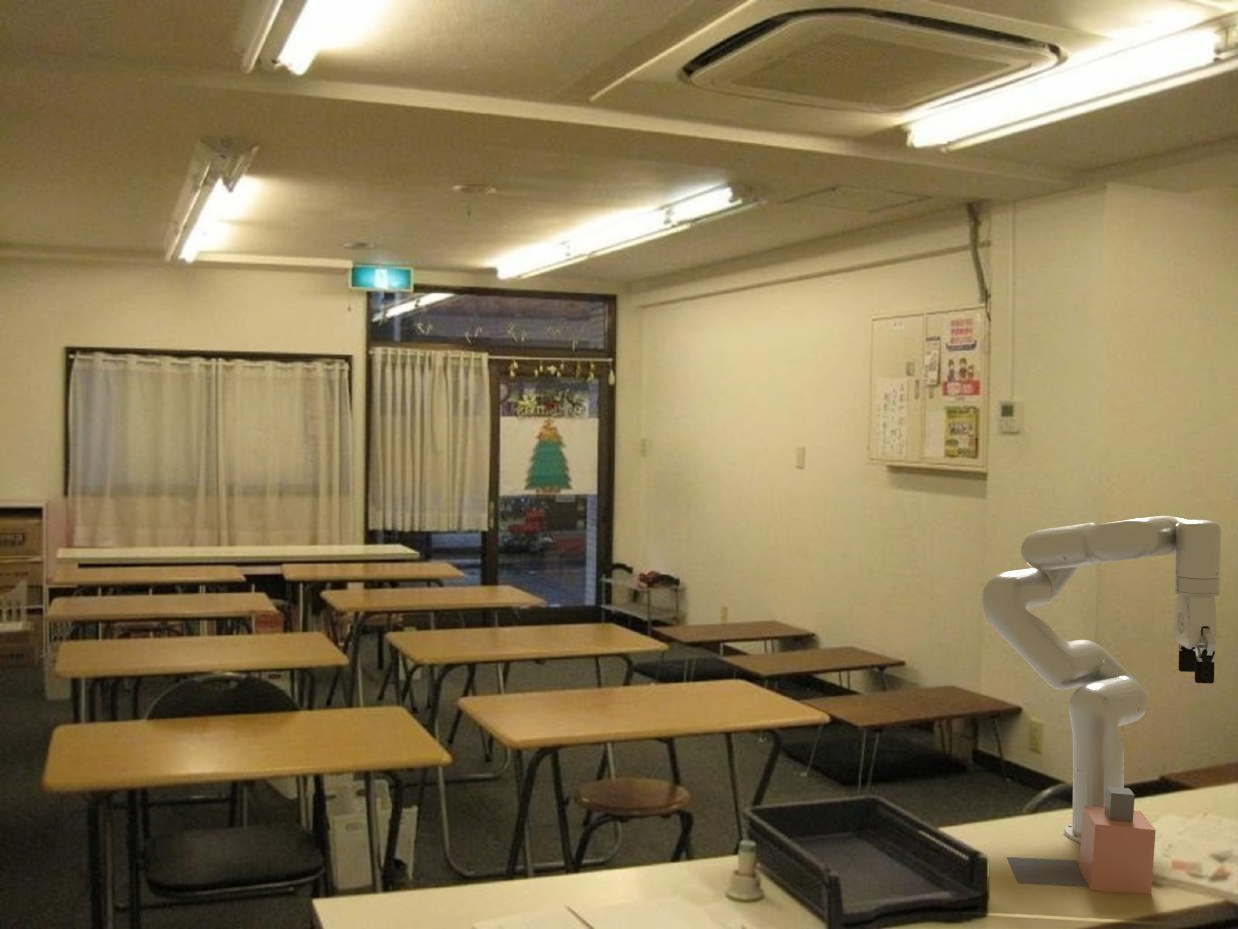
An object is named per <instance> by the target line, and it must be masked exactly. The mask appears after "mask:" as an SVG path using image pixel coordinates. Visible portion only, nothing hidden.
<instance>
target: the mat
mask: <svg viewBox="0 0 1238 929" xmlns="http://www.w3.org/2000/svg"><path fill="white" fill-rule="evenodd" d="M1006 860H1007V862H1008V864H1009V866H1010V868H1011V871H1012V873H1013V875H1014V877H1015V879H1016V881H1017V884H1023V885H1027V884H1028V885H1041V886H1042V885H1043V886H1059V887H1060V886H1063V887H1065V886H1066V887H1082V888H1083V887H1085V888H1089V886H1088V884H1087V882H1086V880H1085V879H1084V877H1083V875H1082V873H1081V871H1080V870H1079V862H1078V860H1077V859H1059V858H1058V859H1055V858H1037V857H1034V858H1033V857H1018V856H1017V857H1014V856H1012V857H1011V856H1006Z"/></svg>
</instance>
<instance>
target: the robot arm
mask: <svg viewBox="0 0 1238 929" xmlns="http://www.w3.org/2000/svg"><path fill="white" fill-rule="evenodd" d="M1221 533H1222V532H1221V527H1220V525H1219V523H1218V522H1216V521H1212V520H1207V519H1185V518H1181V517H1177V516H1172V515H1159V516H1158V515H1157V516H1148V517H1147V516H1146V517H1139V518H1133V519H1127V520H1121V521H1120V520H1119V521H1112V522H1105V523H1098V524H1097V523H1095V522H1087V523H1081V524H1080V523H1079V524H1073V525H1066V526H1065V525H1064V526H1058V527H1050V528H1045V529H1038V530H1035V531H1033V532H1030V533H1029V534H1028V535H1027V536H1026V537H1025V538H1024V539H1023V541H1022V543H1021V545H1020V552H1021V553H1020V554H1021V556H1022V559H1023V560H1024V562H1025V563H1026V564H1027V565H1028V566H1030V567H1029V568H1022V569H1015V570H1007V571H1002V572H1000V573H997V574H995V575H994V576H992V577H991V578H989V580H987V582H986V584H985V585H984V588H983V589H982V590H983V592H982V608H983V611H984V614H985V617H986V619H987V621H988V623H989V624H990V625H991V627H992V628H993V629H994V630H995V631H996V632H997V634H998V635H999V636H1000V637H1001V638H1003V639H1004V640H1005V641H1006V643H1008V644H1009V645H1010V646H1011V647H1012V648H1013V649H1014V650H1015V651H1016V652H1017V653H1018V654H1019V655H1020V656H1021V658H1022V659H1023V660H1024V661H1025V662H1026V663H1027V664H1028V665H1029V666H1030V667H1031V668H1032V669H1033V670H1034V671H1035V673H1036V674H1038V675H1039V676H1040V677H1041V679H1042V680H1044V682H1045V683H1047V685H1048V686H1050V687H1051V688H1053V689H1054V690H1058V691H1068V690H1073V689H1076V690H1074V692H1073V693H1072V695H1071V696H1070V699H1069V703H1068V714H1069V719H1070V725H1071V730H1072V732H1071V733H1072V823H1069V824H1067V825H1066V826H1065V827H1064V828H1063V832H1064V833H1063V834H1064V836H1066V837H1067V838H1069V839H1070V840H1072V841H1074V842H1076V843H1079V844H1081V832H1082V817H1083V806H1091V807H1102V808H1105V798H1106V786H1110V787H1121V788H1125V787H1124V785H1125V784H1124V782H1125V781H1124V780H1125V779H1124V778H1125V761H1124V760H1125V757H1124V756H1125V753H1124V746H1123V745H1124V744H1123V742H1122V738H1121V736H1120V731H1119V727H1122V726H1125V725H1129V724H1131V723H1134V722H1136V721H1138V720H1140V719H1141V718H1143V717H1144V715H1145V714H1146V713H1147V710H1148V704H1149V702H1148V696H1147V694H1146V691H1145V690H1144V688H1143V686H1142V685H1141V683H1139V681H1138V680H1137V678H1135V677H1134V676H1133V675H1132V674H1131V673H1130V672H1129V671H1128V670H1127V669H1126V667H1124V666H1123V665H1122V664H1121V663H1120V662H1119V661H1118V660H1117V659H1115V657H1114V656H1113V655H1111V654H1110V652H1108V651H1107V649H1105V648H1104V647H1102V646H1101V645H1099V644H1098V643H1096V642H1094V641H1091V640H1088V639H1075V640H1065V639H1064V638H1062V637H1061V636H1060V635H1059V634H1057V632H1055V630H1053V629H1052V628H1051V626H1049V624H1048V623H1046V622H1045V621H1044V620H1043V619H1041V618H1039V617H1038V616H1036V615H1034V614H1032V613H1031V612H1030V611H1028V610H1029V609H1034V608H1035V609H1036V608H1040V607H1044V606H1047V605H1048V604H1050V603H1051V602H1053V601H1054V599H1056V598H1057V597H1058V595H1059V594H1060V592H1062V591H1063V589H1064V588H1065V586H1066V585H1067V583H1068V582H1069V580H1070V579H1071V578H1072V576H1073V575H1074V574H1075V572H1076V570H1077V569H1078V568H1079V567H1080V568H1081V567H1088V566H1089V567H1090V566H1099V565H1102V563H1109V562H1119V561H1128V560H1129V561H1130V560H1138V559H1148V558H1154V557H1160V556H1161V557H1162V556H1168V555H1169V556H1170V555H1175V570H1174V571H1175V573H1174V574H1175V580H1174V581H1175V583H1174V584H1175V585H1174V594H1177V595H1176V604H1175V613H1174V628H1173V629H1174V630H1173V638H1174V640H1175V641H1176V642H1177V643H1178V670H1179V671H1180V672H1182V673H1183V672H1184V673H1189V672H1190V673H1194V682H1195V683H1197V684H1214V682H1215V663H1216V657H1215V655H1216V650H1215V648H1216V646H1217V631H1218V630H1217V606H1216V605H1217V603H1216V597H1220V595H1221V594H1220V593H1221V592H1220V591H1221V584H1220V583H1221V539H1222V538H1221V535H1222V534H1221Z"/></svg>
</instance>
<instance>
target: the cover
mask: <svg viewBox="0 0 1238 929" xmlns="http://www.w3.org/2000/svg"><path fill="white" fill-rule="evenodd" d="M1135 796H1136V794H1134V792H1133V791H1132V790H1131V789H1130V788H1129V787H1124V788H1121V787H1110V786H1106V798H1105V808H1102V807H1091V806H1083V817H1082V832H1081V843H1080V848H1079V849H1080V850H1079V862H1078V863H1079V870H1080V871H1081V873H1082V875H1083V877H1084V879H1085V880H1086V882H1087V884H1088V886H1089V887H1088V888H1089V890H1091V891H1098V892H1111V893H1112V892H1113V893H1114V892H1115V893H1130V894H1131V893H1134V894H1145V895H1146V894H1149V895H1151V894H1152V888H1153V873H1154V860H1155V846H1156V845H1155V843H1156V831H1157V830H1156V829H1155V827H1154V826H1153V824H1151V822H1150V821H1149V820H1148V819H1147V817H1146V816H1145V815H1144V813H1143V812H1142V811H1141V810H1135Z"/></svg>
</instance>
